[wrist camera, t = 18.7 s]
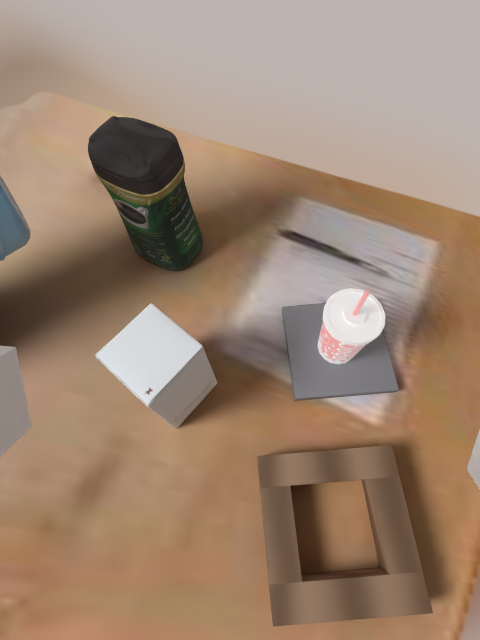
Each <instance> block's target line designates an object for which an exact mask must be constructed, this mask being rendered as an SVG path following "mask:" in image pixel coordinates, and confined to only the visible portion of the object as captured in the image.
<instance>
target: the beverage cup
mask: <svg viewBox="0 0 480 640" xmlns="http://www.w3.org/2000/svg"><path fill="white" fill-rule="evenodd" d="M370 292H371V289H370V288H366V290H365V291H363V290H359V289H352V288H349V289H344V290H339V291H338V292H336V293H335V294H333V295H332V296H330V297H329V299H328V301H327V302H326V304H325V306H324V310H323V323H322V327H321V331H320V335H319V339H318V350H319V353H320V354H321V356H322V357H323V358H324V359H325V360H327V361H329V362H330V363H334V364H342V363H346V362H348V361H349V360H350V359H352V358H353V357H354V356H355V355H356V354H357V353H358V352H359V351H360V350H361V349H362V348H363V347H364V346H365V345H366V344H368V343H370V342H371V341H373V340H374V339H375V338H377V337H378V336H379V335H380V333H381V331H382V330H383V328H384V326H385V312H384V310H383V307H382V305H381V303H380V302H379V301H378V300H377V299H376V298H375V297H374V296H373V295H371V294H370Z"/></svg>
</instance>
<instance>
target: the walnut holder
mask: <svg viewBox="0 0 480 640" xmlns="http://www.w3.org/2000/svg"><path fill="white" fill-rule="evenodd" d="M258 469H259V480H260V491H261V502H262V513H263V524H264V534H265V545H266V556H267V567H268V578H269V589H270V600H271V611H272V621H273V626H283V625H295V624H307V623H319V622H331V621H343V620H356V619H368V618H380V617H392V616H404V615H416V614H428V613H433V612H432V607H431V603H430V599H429V595H428V591H427V587H426V583H425V579H424V574H423V570H422V566H421V562H420V558H419V554H418V550H417V546H416V541H415V537H414V533H413V529H412V525H411V521H410V517H409V513H408V509H407V504H406V500H405V496H404V492H403V488H402V484H401V480H400V476H399V471H398V467H397V463H396V459H395V455H394V451H393V447H392V445H384V446H372V447H361V448H349V449H337V450H326V451H314V452H302V453H291V454H279V455H267V456H258ZM350 480H362V482H363V487H364V492H365V497H366V502H367V507H368V512H369V517H370V522H371V527H372V532H373V537H374V542H375V547H376V552H377V557H378V562H379V567H380V568H372V569H360V570H348V571H336V572H324V573H312V574H301V568H300V560H299V552H298V544H297V536H296V528H295V520H294V512H293V504H292V496H291V488H290V486H291V485H303V484H314V483H326V482H338V481H350Z"/></svg>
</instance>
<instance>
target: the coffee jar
mask: <svg viewBox="0 0 480 640" xmlns="http://www.w3.org/2000/svg"><path fill="white" fill-rule="evenodd" d="M88 153H89V157H90V160H91V162H92V165H93V168H94V170H95V173H96V175H97V176H98V178H99V179H100V181H101V182H102V183H103V185H104V186H105V188H106V189H107V191H108V192H109V194H110V195H111V197H112V199H113V201H114V203H115V205H116V207H117V209H118V211H119V214H120V216H121V218H122V220H123V222H124V225H125V227H126V229H127V232H128V234H129V237H130V239H131V242H132V244H133V246H134V248H135V250H136V252H137V253H138V254H139V255H140V256H142V257H143V258H144V259H146V260H148V261H149V262H151V263H153V264H155V265H157V266H160V267H162V268H165V269H168V270H173V271H177V270H181V269H183V268H185V267H187V266H188V265H189V264H190V263H191V262H192V261H193V260H194V259H195V258H196V256H197V255H198V253H199V251H200V249H201V247H202V243H203V242H202V236H201V233H200V229H199V226H198V223H197V220H196V218H195V215H194V212H193V209H192V206H191V202H190V199H189V196H188V193H187V189H186V186H185V182H184V172H185V161H184V157H183V154H182V152H181V149H180V146H179V143H178V141H177V138H176V137H175V135H174V134H173V133H171V132H170V131H168V130H165V129H163V128H161V127H158V126H156V125H153V124H150V123H147V122H144V121H141V120H138V119H134V118H127V117H115V116H113V117H111V118H110V119H108V120H107V121H106V122H105V123H104V124H102V125H101V126H100V127H99V128H98V129H97V130H96V131H95V132H94V133H93V134H92V135H91V136H90V138H89V144H88Z"/></svg>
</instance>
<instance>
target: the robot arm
mask: <svg viewBox="0 0 480 640" xmlns="http://www.w3.org/2000/svg"><path fill="white" fill-rule="evenodd" d="M29 239H30V229H29V226H28V224H27V222H26V220H25V218H24V216H23V214H22V212H21V210H20V209H19V207H18V205H17V203H16V201H15V200H14V198H13V196H12V194H11V193H10V191H9V189H8V187H7V186H6V184H5V182H4V181H3V179H2V177H1V176H0V261H2V260H4V259H5V257H6V256H8V255H9V254H11V253H13V252H15V251H16V250H18V249H20V248H21V247H23V246H25V245H26V244H27V242H28V241H29ZM31 427H32V426H31V421H30V416H29V411H28V406H27V401H26V396H25V391H24V386H23V381H22V375H21V370H20V365H19V360H18V355H17V350H16V347H10V346H0V457H1V456H2V455H3V454H4V453H5V452H6V451H7V450H8V449H9V448H10V447H11V446H12V445H13V444H14V443H15V442H16V441H17V440H18V439H19V438H20V437H21V436H22V435H23V434H24V433H25V432H26V431H28V430H29V429H30V428H31ZM467 471H468V472H469V474H470V475H471V477H472V478H473V480H474V481H475V483H476V484H477V486H478V487H479V489H480V430H479V433H478V436H477V439H476V442H475V445H474V448H473V451H472V455H471V458H470V461H469V464H468V467H467Z"/></svg>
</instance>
